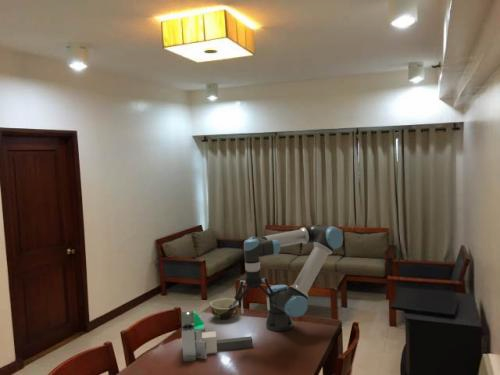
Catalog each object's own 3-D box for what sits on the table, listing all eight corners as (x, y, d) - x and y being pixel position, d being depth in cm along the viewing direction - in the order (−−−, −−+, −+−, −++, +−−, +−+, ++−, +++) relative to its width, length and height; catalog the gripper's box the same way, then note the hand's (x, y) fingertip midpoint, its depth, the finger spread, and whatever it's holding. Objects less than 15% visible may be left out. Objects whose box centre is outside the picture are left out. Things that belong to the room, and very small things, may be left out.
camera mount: (182, 334, 233) (181, 316, 232) (183, 329, 241) (182, 311, 240) (204, 332, 234) (203, 314, 234) (204, 327, 242) (203, 310, 241)
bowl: (207, 323, 248) (206, 307, 248) (214, 312, 266) (213, 297, 265) (236, 323, 245) (235, 307, 245) (242, 312, 263) (241, 297, 262)
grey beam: (251, 342, 218) (250, 327, 217) (253, 348, 211) (252, 332, 210) (196, 348, 214) (195, 333, 214) (196, 354, 207) (195, 338, 207)
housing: (205, 342, 221) (203, 304, 219) (207, 359, 202) (204, 317, 201) (184, 345, 219) (181, 306, 218) (183, 361, 200) (180, 319, 199)
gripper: (275, 265, 219) (277, 305, 220) (227, 270, 215) (230, 311, 216) (278, 269, 211) (281, 310, 213) (229, 274, 207) (232, 316, 209)
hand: (255, 311), depth 214 cm, fingers open, 13 cm apart
